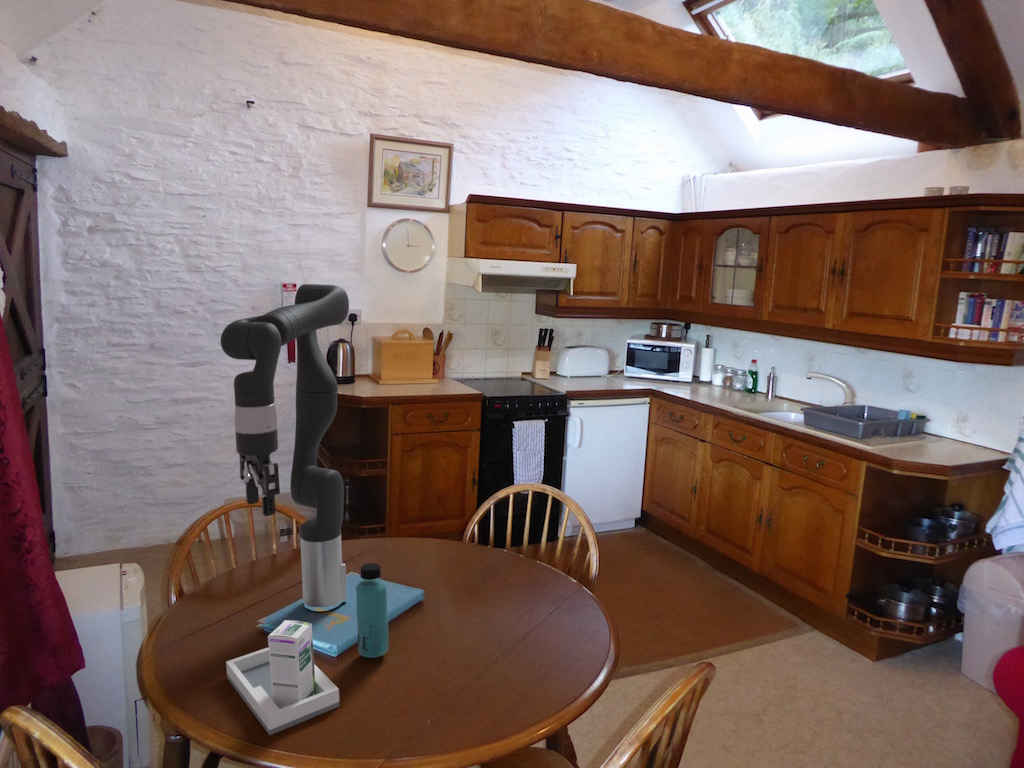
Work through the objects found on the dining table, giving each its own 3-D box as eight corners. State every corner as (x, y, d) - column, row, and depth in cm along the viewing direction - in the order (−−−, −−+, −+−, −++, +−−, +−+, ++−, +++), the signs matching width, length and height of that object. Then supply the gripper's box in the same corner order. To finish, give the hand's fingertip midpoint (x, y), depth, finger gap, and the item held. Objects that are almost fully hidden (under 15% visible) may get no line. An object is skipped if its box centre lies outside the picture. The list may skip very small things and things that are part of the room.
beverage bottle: (395, 651, 150) (393, 561, 146) (379, 668, 143) (377, 574, 140) (367, 645, 152) (365, 556, 148) (351, 662, 145) (348, 569, 142)
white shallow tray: (291, 655, 148) (290, 639, 147) (339, 706, 131) (338, 688, 130) (227, 678, 140) (226, 661, 139) (269, 735, 123) (268, 717, 122)
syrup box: (301, 713, 127) (297, 638, 125) (271, 708, 128) (267, 634, 126) (316, 694, 133) (313, 622, 130) (287, 690, 134) (283, 618, 132)
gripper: (290, 431, 132) (294, 514, 135) (262, 418, 143) (266, 495, 146) (249, 437, 128) (254, 523, 130) (223, 423, 138) (228, 503, 141)
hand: (260, 508), depth 138 cm, fingers open, 8 cm apart
